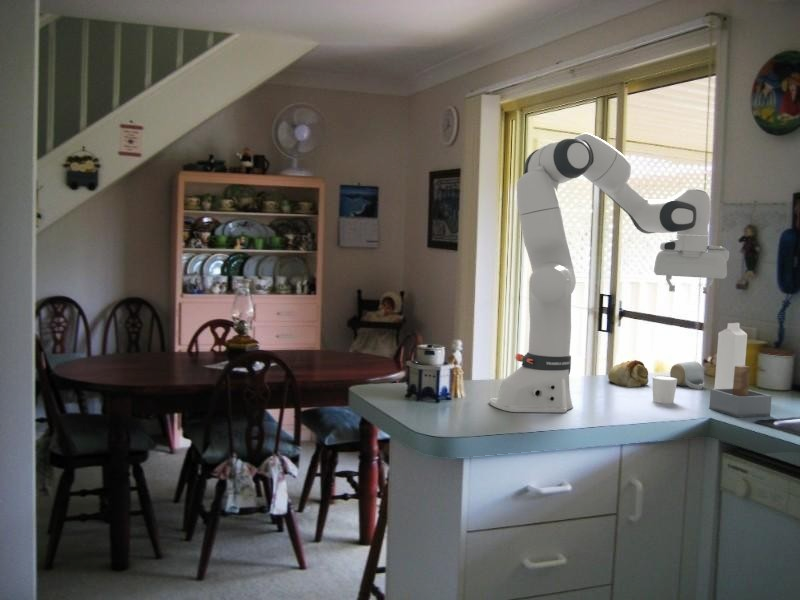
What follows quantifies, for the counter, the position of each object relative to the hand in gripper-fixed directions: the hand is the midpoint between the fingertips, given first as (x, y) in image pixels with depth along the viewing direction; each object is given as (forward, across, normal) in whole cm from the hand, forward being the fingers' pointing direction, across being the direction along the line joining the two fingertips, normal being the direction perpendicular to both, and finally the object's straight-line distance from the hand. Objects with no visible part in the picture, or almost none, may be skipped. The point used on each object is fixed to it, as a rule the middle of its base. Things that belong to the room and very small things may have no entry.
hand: (688, 292), depth 250 cm
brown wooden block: (+30, -16, +14) cm, 37 cm away
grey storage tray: (+31, -16, +14) cm, 38 cm away
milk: (+31, -13, -13) cm, 36 cm away
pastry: (+32, +17, -15) cm, 39 cm away
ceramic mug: (+31, -1, -22) cm, 38 cm away
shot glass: (+31, +4, +10) cm, 33 cm away
